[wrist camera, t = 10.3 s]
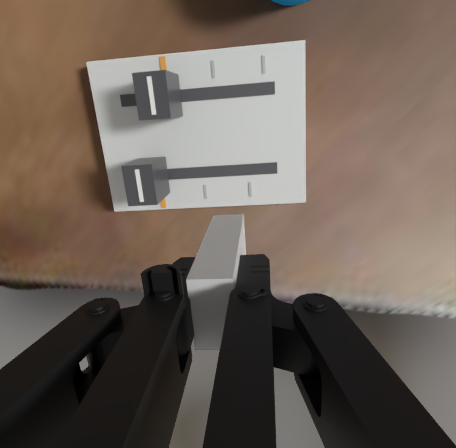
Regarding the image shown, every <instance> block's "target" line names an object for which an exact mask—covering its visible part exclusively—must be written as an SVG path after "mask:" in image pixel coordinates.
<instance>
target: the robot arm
mask: <svg viewBox="0 0 456 448" xmlns="http://www.w3.org/2000/svg"><path fill="white" fill-rule="evenodd" d="M141 278H142V284H143V289H144V295H145V296H144V298H143V299H142V301H141V303H140V304H139V305H137V306H133V307H128V308H123V309H120V305H119V302H118V301H117V300H116V299H113V298H100V299H99V298H98V299H94V300H93V301H90V302H88V303H86V304H84V305H82V306H81V307H80V308H79V309H77V310H76V311H75V312H73V313H72V314H71V315H70V316H68V317H67V318H66V319H64V320H63V321H62V322H60V323H59V324H58V325H57V326H55V327H54V328H53V329H51V330H50V331H49V332H48V333H46V334H45V335H44V336H42V337H41V338H40V339H39V340H38V341H36V342H35V343H34V344H32V345H31V346H30V347H28V348H27V349H26V350H24V351H23V352H22V353H21V354H19V355H18V356H17V357H16V358H14V359H13V360H12V361H11V362H9V363H8V364H6V365H5V366H4V367H3V368H2V369H1V370H0V448H169V444H170V440H171V437H172V433H173V429H174V426H175V422H176V418H177V414H178V410H179V407H180V403H181V399H182V396H183V392H184V388H185V385H186V381H187V377H188V373H189V370H190V366H191V362H192V351H191V344H192V340H193V338H194V346H195V350H220V352H219V357H218V363H217V369H216V375H215V380H214V386H213V391H212V398H211V403H210V408H209V414H208V420H207V426H206V431H205V438H204V443H203V448H276V426H275V396H274V367H275V368H279V369H283V370H287V371H290V372H294V376H295V380H296V383H297V385H298V387H299V389H300V392H301V394H302V396H303V399H304V401H305V403H306V406H307V408H308V410H309V412H310V414H311V417H312V419H313V421H314V424H315V426H316V428H317V431H318V433H319V435H320V437H321V439H322V442H323V444H324V447H325V448H456V445H455V444H454V443H453V442H452V441H451V439H450V438H449V437H448V436H447V435H446V433H445V432H444V431H443V430H442V429H441V427H440V426H439V425H438V424H437V423H436V421H435V420H434V419H433V418H432V416H431V415H430V414H429V413H428V412H427V411H426V409H425V408H424V407H423V405H422V404H421V403H420V402H419V401H418V399H417V398H416V397H415V396H414V395H413V393H412V392H411V391H410V390H409V389H408V387H407V386H406V385H405V384H404V382H403V381H402V380H401V379H400V378H399V376H398V375H397V374H396V373H395V372H394V370H393V369H392V368H391V367H390V366H389V364H388V363H387V362H386V361H385V359H384V358H383V357H382V356H381V355H380V353H379V352H378V351H377V350H376V349H375V347H374V346H373V345H372V344H371V343H370V341H369V340H368V339H367V338H366V336H365V335H364V334H363V333H362V332H361V330H360V329H359V328H358V327H357V326H356V325H355V323H354V322H353V321H352V320H351V318H350V317H349V316H348V315H347V313H346V312H345V311H344V310H343V309H342V307H341V306H340V305H339V304H338V303H337V302H336V301H335V300H334V299H333V298H331V297H329V296H326V295H323V294H318V293H313V294H305V295H301V296H299V297H298V298H296V299H295V301H294V303H293V304H289V303H285V302H282V301H280V300H277V299H276V298H275V297H273V295H272V294H271V290H270V265H269V259H268V258H267V257H266V256H265V255H264V254H258V255H246V245H245V229H244V214H236V215H213V218H212V220H211V222H210V225H209V227H208V229H207V232H206V234H205V236H204V239H203V241H202V243H201V246H200V248H199V250H198V253H197V255H196V257H184V258H180V259H178V260H177V261H175V262H174V263H173V264H172V265H171V264H162V265H156V266H153V267H150V268H148V269H146V270H144V271H143V272H142V273H141ZM85 356H86V357H87V360H88V364H89V366H88V367H87V368H86V369H85V370H84V371H81V369H80V365H79V362H80V361H81V360H82V359H83V358H84V357H85Z"/></svg>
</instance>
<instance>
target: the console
mask: <svg viewBox="0 0 456 448" xmlns="http://www.w3.org/2000/svg"><path fill="white" fill-rule="evenodd" d="M86 64H87V69H88V74H89V79H90V85H91V90H92V95H93V101H94V106H95V111H96V116H97V122H98V127H99V132H100V138H101V143H102V148H103V154H104V159H105V164H106V169H107V175H108V180H109V185H110V191H111V196H112V201H113V207H114V212H115V211H136V210H157V209H178V208H200V207H221V206H242V205H263V204H285V203H306V106H305V40H302V41H292V42H282V43H272V44H261V45H251V46H241V47H231V48H221V49H211V50H201V51H191V52H181V53H171V54H161V55H151V56H141V57H131V58H121V59H111V60H101V61H91V62H86ZM158 70H167V71H170V72H173V73H176V74H178V75H179V84H180V93H181V102H182V111H183V116H181V117H175V118H166V119H153V120H140V121H139V117H138V111H137V104H136V98H135V91H134V85H133V78H132V73H137V72H147V71H158ZM151 157H166V164H167V172H168V179H169V187H170V193H169V194H168V195H167V196H166V197H165V198H164V199H163V200H162V201H161V202H160V203H159V204H158V205H145V206H128V202H127V197H126V191H125V185H124V180H123V174H122V168H121V166H122V165H125V164H127V163H129V162H132V161H134V160H136V159H138V158H151Z"/></svg>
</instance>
